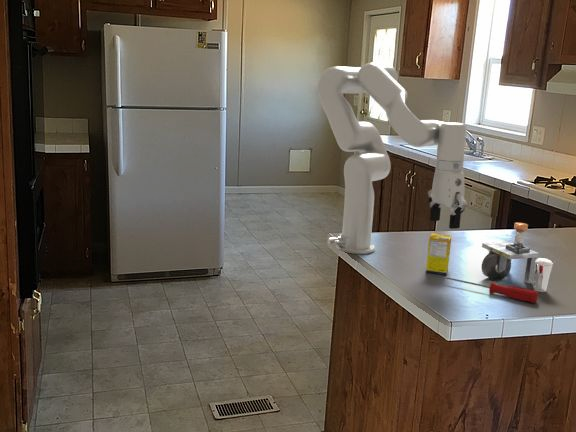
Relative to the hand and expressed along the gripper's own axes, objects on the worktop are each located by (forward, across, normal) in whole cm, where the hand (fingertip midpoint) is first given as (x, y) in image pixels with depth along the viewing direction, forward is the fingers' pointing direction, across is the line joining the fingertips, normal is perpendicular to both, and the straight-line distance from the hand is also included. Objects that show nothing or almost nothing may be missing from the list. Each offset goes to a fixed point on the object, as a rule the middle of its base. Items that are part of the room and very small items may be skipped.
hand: (444, 224), depth 175 cm
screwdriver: (+15, -18, -3) cm, 24 cm away
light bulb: (+6, -11, -18) cm, 22 cm away
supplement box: (+15, +1, 0) cm, 15 cm away
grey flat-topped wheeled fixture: (+15, -9, -15) cm, 23 cm away
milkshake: (+16, -20, -20) cm, 32 cm away
